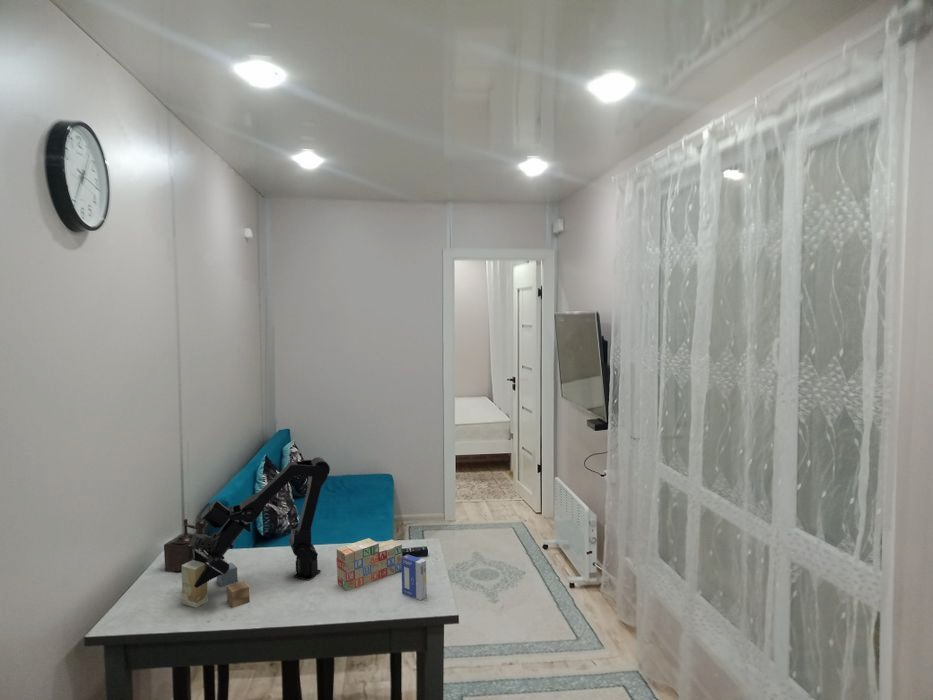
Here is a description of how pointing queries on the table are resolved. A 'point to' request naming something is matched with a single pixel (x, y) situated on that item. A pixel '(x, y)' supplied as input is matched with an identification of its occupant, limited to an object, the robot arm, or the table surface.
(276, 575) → the table surface
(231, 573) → the slate cube
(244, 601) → the walnut cube
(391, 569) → the stack of blocks
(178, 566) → the manual coffee grinder
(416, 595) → the walkman
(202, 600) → the skincare box
